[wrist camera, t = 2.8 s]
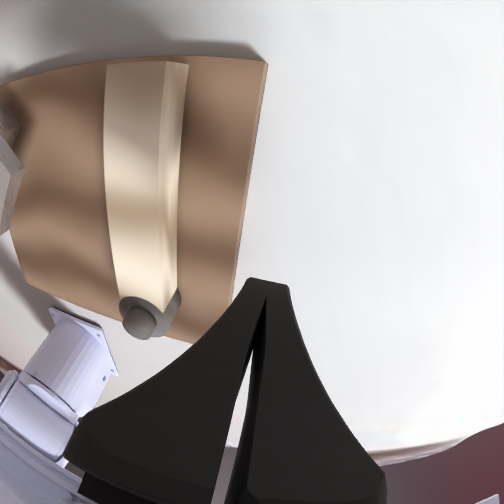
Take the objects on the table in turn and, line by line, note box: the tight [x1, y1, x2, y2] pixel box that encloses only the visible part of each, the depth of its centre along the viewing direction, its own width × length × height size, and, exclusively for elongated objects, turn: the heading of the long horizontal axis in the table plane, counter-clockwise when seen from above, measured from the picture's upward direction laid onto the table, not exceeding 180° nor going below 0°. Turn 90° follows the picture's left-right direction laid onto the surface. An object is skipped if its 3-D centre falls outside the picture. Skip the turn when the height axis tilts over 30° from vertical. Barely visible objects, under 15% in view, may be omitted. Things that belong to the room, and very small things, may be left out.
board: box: [0, 56, 268, 344], centre depth 17 cm, size 20×22×2 cm
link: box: [103, 61, 189, 340], centre depth 14 cm, size 16×4×4 cm, turn 172°
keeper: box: [0, 105, 25, 236], centre depth 13 cm, size 8×6×5 cm
